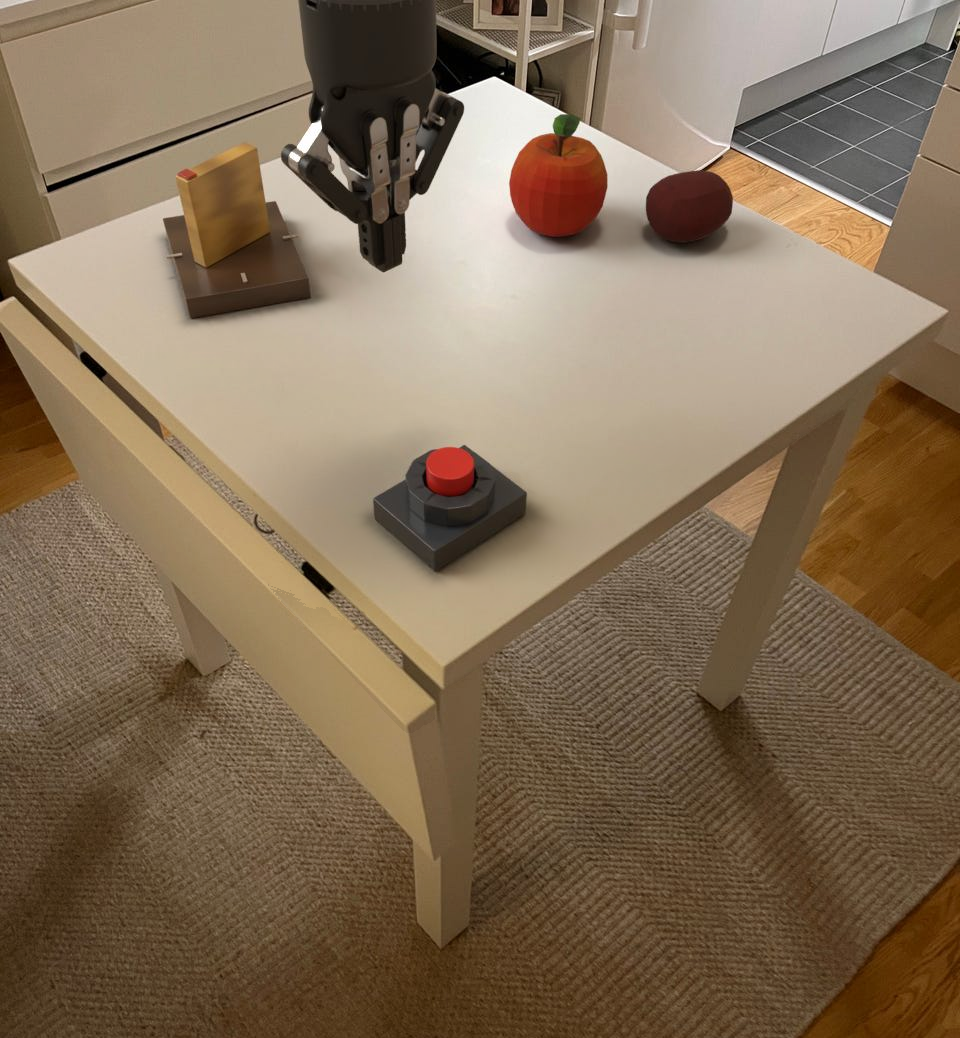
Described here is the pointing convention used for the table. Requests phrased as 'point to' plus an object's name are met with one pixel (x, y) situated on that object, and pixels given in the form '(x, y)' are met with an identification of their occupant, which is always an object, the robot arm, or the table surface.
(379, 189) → the robot arm
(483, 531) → the button block
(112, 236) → the table surface
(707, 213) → the potato
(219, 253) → the wooden block
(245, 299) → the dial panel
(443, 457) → the button
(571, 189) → the fruit
